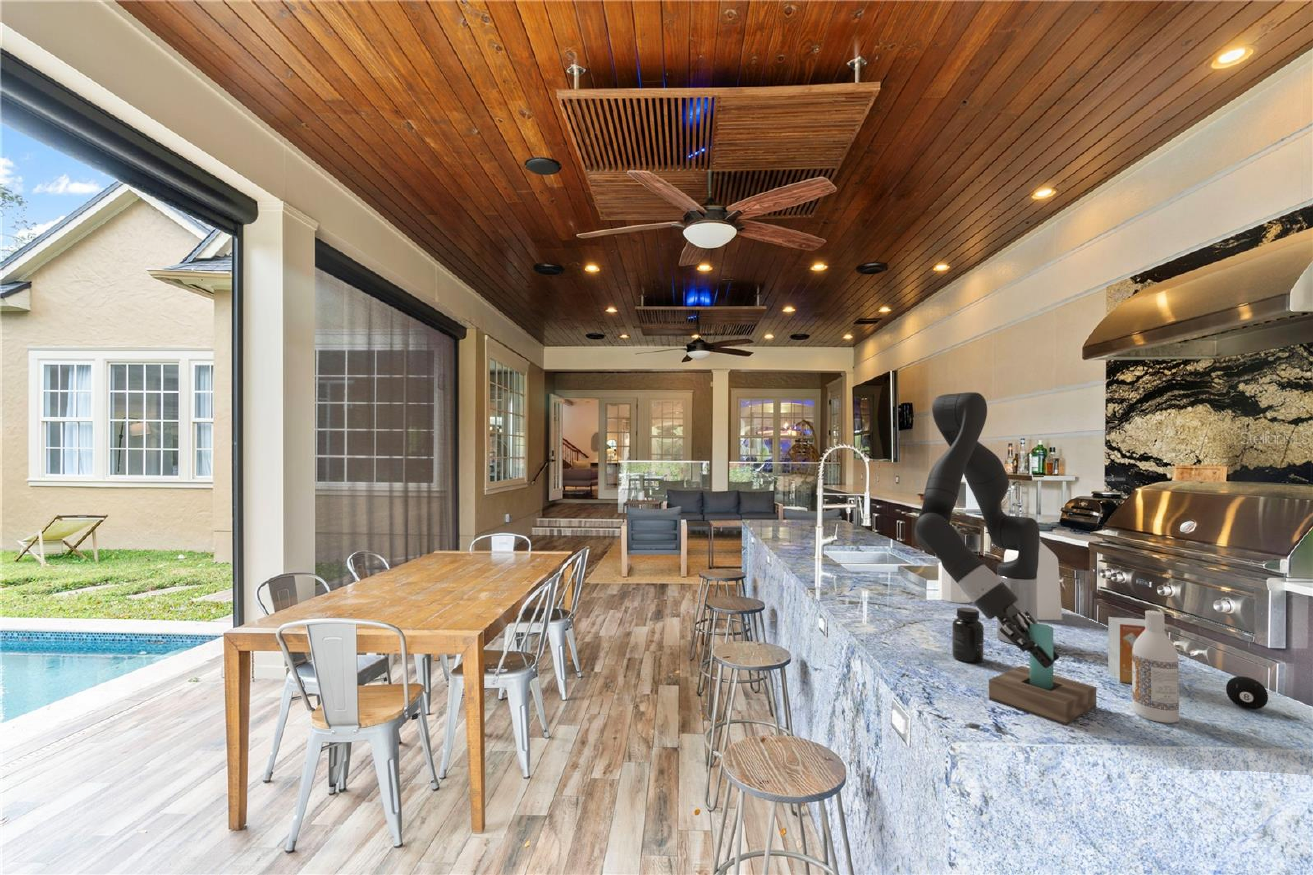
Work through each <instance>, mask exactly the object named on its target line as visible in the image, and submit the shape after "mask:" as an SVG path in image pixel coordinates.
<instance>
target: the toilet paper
mask: <svg viewBox="0 0 1313 875" xmlns="http://www.w3.org/2000/svg"><path fill="white" fill-rule="evenodd" d="M938 598H939V599H940V600H942V601H945V602H950V603H957V604H958V603H959V604H968V603H971V602H972V601H971V600H970V599H969V597H968V596H967V595H966V594H965V593H964V592H963V590H962V589H961V587H960V586H959V585H958V583H957V582H956V581H955V580H954V579H953V578H952V577H951V576H950V575H949V574H948V572H947V571H946V570H945V569H944V567H943V566H942V563H941V561H940V562H938Z"/></svg>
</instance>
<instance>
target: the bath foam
mask: <svg viewBox="0 0 1313 875" xmlns="http://www.w3.org/2000/svg"><path fill="white" fill-rule="evenodd" d="M1144 614H1145V619H1144V620H1145V630H1144V631H1143V632H1142V633H1141V634H1140V635H1139V637H1138V638H1137V639H1136V641H1135V642H1134V645H1133V649H1132V683H1131V684H1132V685H1131V686H1132V687H1131V688H1132V690H1131V691H1132V694H1131V695H1132V710H1133V712H1134V713H1135V714H1136V715H1138V716H1139V717H1142V718H1144V719H1146V720H1149V721H1153V722H1157V723H1162V724H1163V723H1164V724H1165V723H1166V724H1173V723H1177V722H1179V720H1180V683H1179V682H1180V680H1179V679H1180V675H1179V674H1180V672H1179V671H1180V669H1179V668H1180V665H1179V653H1178V651H1177V648H1176V647H1175V645H1174V643H1173V642H1172V641H1171V639H1170V638H1169V636H1168V635H1167V633H1166V632H1165V628H1166V627H1165V626H1166V625H1165V620H1166V619H1165V613H1164V612H1162V611H1157V610H1145V611H1144Z"/></svg>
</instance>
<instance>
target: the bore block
mask: <svg viewBox="0 0 1313 875" xmlns="http://www.w3.org/2000/svg"><path fill="white" fill-rule="evenodd" d="M988 700H990V701H992V702H996V703H998V704H1002V705H1004V706H1005V705H1006V706H1007V707H1011V708H1013V709H1017V710H1019V711H1022V712H1026V713H1029V714H1031V715H1034V716H1038V717H1040V718H1043V719H1046V720H1049V721H1052V722H1055V723H1058V724H1061V725H1064V726H1067V725H1069V724H1071V723H1072V722H1075V721H1076V720H1078V719H1079V718H1081V717H1082V716H1084V715H1086V714H1088V713H1089V712H1091V711H1092V710H1094V709H1096V708H1097V687H1096V686H1094V685H1090V684H1087V683H1083V682H1080V681H1076V680H1073V679H1069V678H1065V677H1062V676H1058V675H1056V674H1053V690H1052V691H1049V690H1046V689H1042V688H1039V687H1036V686H1032V685H1030V667H1027V666H1023V665H1020V666H1018V667H1016V668H1012V669H1011V670H1008V671H1006V672H1004V673H1001V674H999V675H997V676H993V677H992V678H990V679H988Z"/></svg>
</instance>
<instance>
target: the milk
mask: <svg viewBox="0 0 1313 875" xmlns="http://www.w3.org/2000/svg"><path fill="white" fill-rule="evenodd" d="M1017 557H1018V551H1014V550H1007V549H1005V551H1004V555H1003V562H1009V561H1013V560H1015V559H1017ZM1059 565H1060V564H1059V558H1058V556H1057V555H1056V554H1055V553H1054V552H1053V551H1052V550H1051V549H1050V548H1048V546H1046V544H1044V543H1043V542H1042V540H1041V539H1040V541H1039V562H1038V570H1037V621H1038V620H1039V621H1041V620H1042V621H1043V620H1044V621H1045V620H1046V621H1047V620H1048V621H1054V620H1055V621H1063V610H1062V597H1061V596H1062V594H1061V581H1060V567H1059Z"/></svg>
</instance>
